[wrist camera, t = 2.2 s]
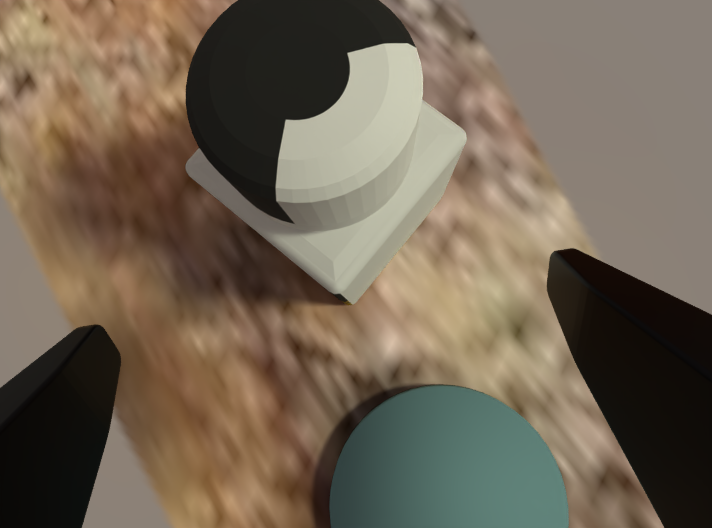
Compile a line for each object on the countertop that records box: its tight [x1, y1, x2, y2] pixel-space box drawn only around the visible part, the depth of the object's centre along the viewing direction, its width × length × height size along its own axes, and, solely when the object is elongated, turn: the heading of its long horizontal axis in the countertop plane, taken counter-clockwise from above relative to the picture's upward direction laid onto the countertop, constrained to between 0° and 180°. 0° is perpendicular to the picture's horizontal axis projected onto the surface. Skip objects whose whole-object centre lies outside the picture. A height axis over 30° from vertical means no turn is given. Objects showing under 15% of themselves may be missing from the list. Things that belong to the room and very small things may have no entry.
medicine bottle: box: [186, 0, 467, 305], centre depth 17 cm, size 7×7×12 cm
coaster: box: [329, 385, 569, 528], centre depth 20 cm, size 10×10×1 cm
